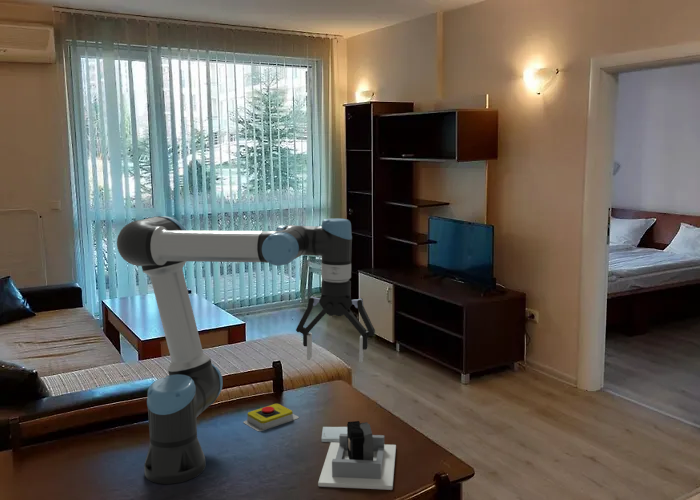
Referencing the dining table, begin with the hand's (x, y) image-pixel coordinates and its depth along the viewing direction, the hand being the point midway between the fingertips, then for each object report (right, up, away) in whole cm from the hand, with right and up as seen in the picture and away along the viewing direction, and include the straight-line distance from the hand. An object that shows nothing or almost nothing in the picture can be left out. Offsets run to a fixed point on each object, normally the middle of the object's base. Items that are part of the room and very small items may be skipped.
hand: (335, 359), depth 164 cm
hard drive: (+2, -26, +18) cm, 31 cm away
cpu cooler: (+6, -27, -1) cm, 27 cm away
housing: (+6, -27, -1) cm, 28 cm away
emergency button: (-20, -24, +29) cm, 43 cm away
